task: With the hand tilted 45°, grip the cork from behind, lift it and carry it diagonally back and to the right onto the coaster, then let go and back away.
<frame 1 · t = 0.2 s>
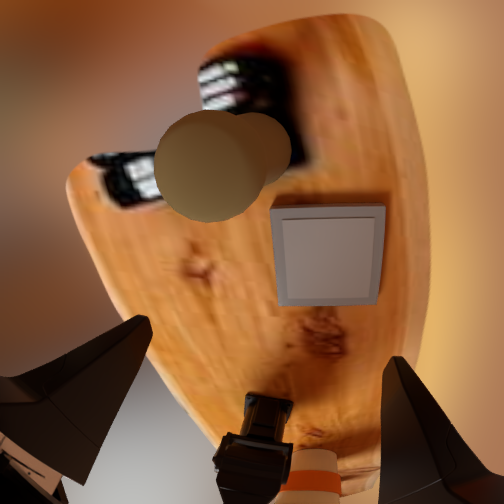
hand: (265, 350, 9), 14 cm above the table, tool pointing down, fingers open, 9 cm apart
coaster: (328, 255, 22), on the table
cork: (252, 149, 20), on the table
reusable coffee cup: (314, 455, 40), on the table
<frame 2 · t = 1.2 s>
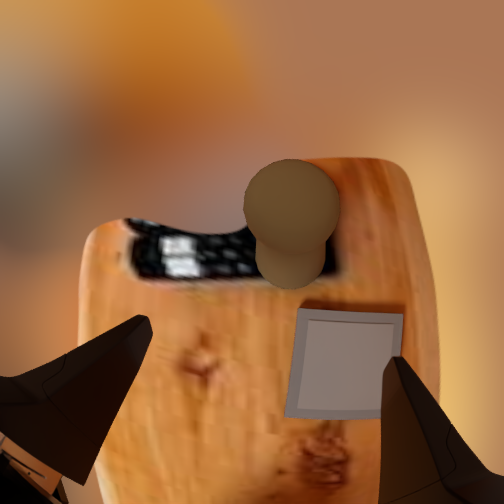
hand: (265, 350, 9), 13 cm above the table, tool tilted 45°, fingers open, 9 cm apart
coaster: (345, 366, 20), on the table
cork: (290, 255, 23), on the table
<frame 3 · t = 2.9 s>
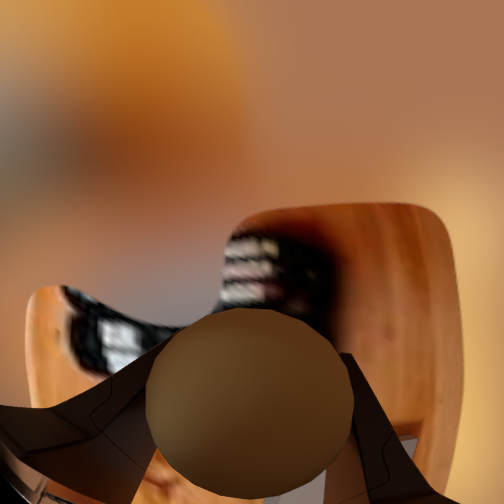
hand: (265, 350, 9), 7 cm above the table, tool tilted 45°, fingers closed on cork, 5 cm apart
coaster: (334, 492, 11), on the table
cork: (270, 364, 15), on the table, touching gripper
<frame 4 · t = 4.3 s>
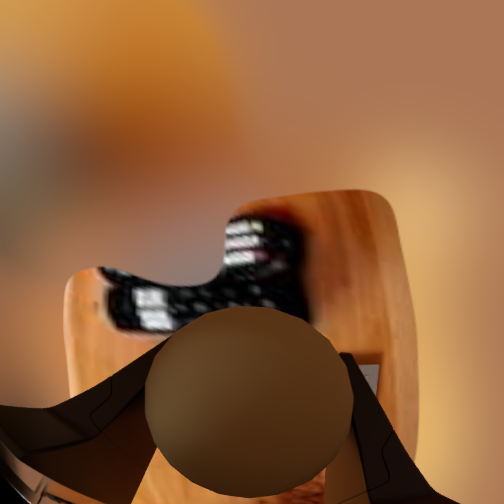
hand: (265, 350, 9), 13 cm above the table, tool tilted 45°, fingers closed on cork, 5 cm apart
coaster: (319, 414, 19), on the table
cork: (270, 363, 15), point 6 cm above the table, touching gripper
when the fingers open (9 cm above the table, at t = 5.9 s): cork drops 1 cm, resting on coaster.
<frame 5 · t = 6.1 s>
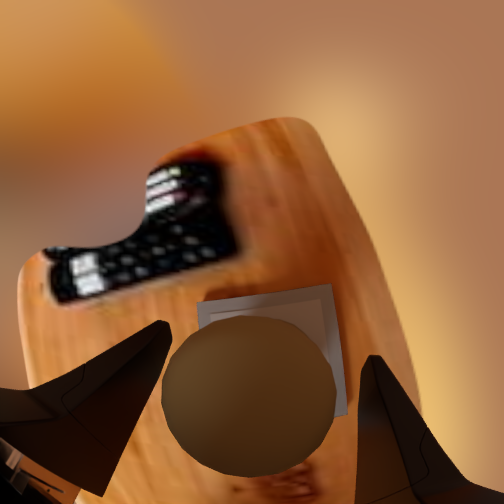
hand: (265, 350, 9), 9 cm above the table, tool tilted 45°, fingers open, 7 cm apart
coaster: (272, 360, 17), on the table
cork: (269, 364, 16), point 1 cm above the table, touching coaster
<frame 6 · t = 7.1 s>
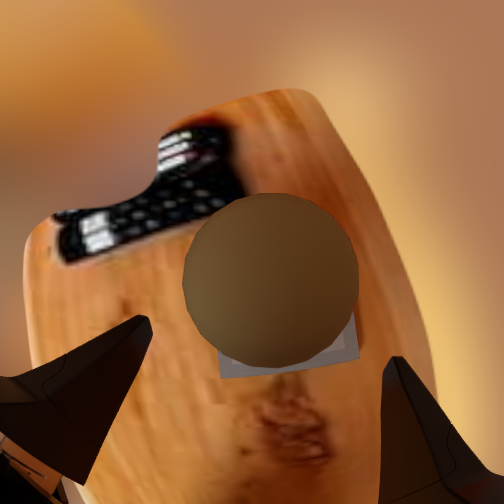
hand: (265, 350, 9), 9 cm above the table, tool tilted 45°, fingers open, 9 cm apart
coaster: (282, 303, 18), on the table
cork: (279, 305, 17), point 1 cm above the table, touching coaster
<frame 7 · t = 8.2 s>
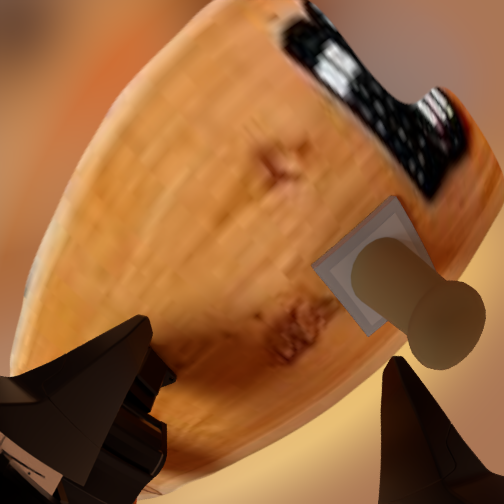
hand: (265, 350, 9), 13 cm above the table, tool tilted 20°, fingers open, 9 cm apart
coaster: (379, 268, 22), on the table
cork: (381, 271, 21), point 1 cm above the table, touching coaster
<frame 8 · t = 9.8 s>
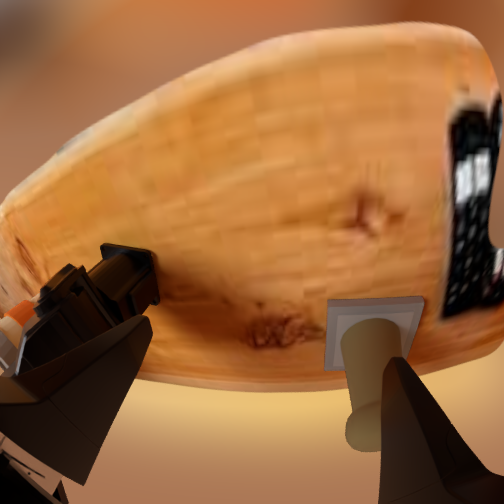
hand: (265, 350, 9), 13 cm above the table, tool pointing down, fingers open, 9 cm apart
coaster: (370, 334, 24), on the table
cork: (370, 339, 23), point 1 cm above the table, touching coaster
reusable coffee cup: (63, 309, 35), on the table
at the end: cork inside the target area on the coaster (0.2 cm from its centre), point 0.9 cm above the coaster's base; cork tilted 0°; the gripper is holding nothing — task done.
